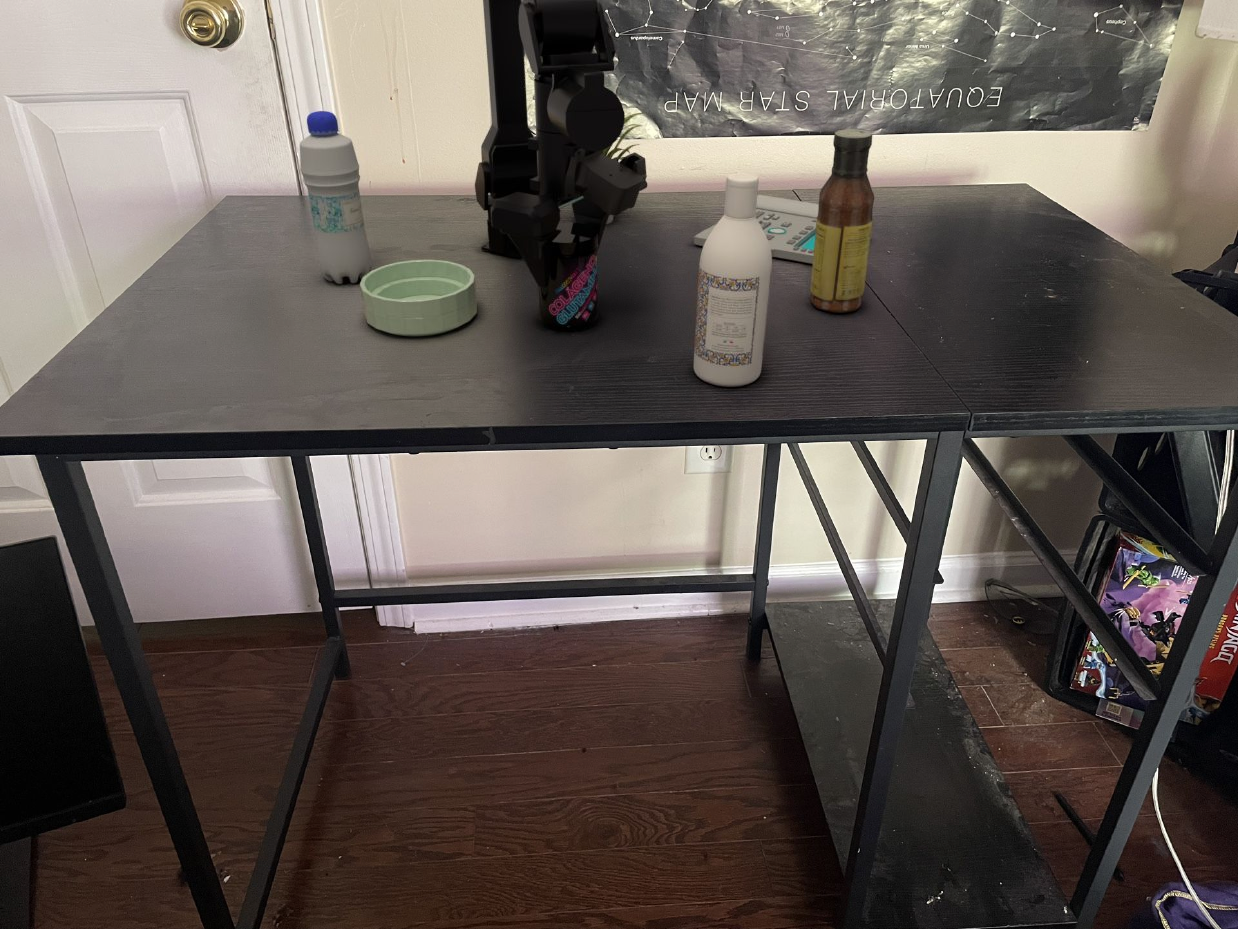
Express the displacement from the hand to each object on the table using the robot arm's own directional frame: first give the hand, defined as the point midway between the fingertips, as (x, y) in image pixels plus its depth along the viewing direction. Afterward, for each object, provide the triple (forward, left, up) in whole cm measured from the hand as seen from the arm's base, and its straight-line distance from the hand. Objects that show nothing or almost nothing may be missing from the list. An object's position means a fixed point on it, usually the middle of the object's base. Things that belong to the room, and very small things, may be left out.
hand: (567, 273), depth 100 cm
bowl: (+8, -15, -6) cm, 18 cm away
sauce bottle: (-21, +24, -6) cm, 33 cm away
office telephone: (-42, +10, -6) cm, 44 cm away
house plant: (-33, -16, -6) cm, 37 cm away
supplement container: (0, 0, -6) cm, 6 cm away
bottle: (+4, -31, -6) cm, 32 cm away
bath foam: (+2, +21, -6) cm, 22 cm away
